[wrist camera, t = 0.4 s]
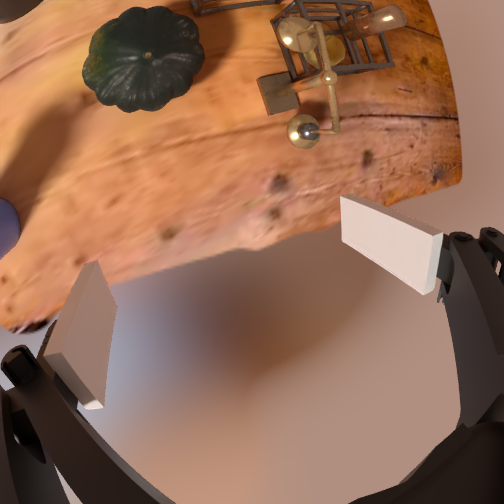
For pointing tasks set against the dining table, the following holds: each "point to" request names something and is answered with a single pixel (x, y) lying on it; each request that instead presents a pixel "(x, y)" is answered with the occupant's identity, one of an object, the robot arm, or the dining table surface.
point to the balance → (301, 83)
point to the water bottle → (8, 227)
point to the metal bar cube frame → (227, 6)
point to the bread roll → (333, 46)
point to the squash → (143, 59)
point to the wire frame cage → (345, 33)
